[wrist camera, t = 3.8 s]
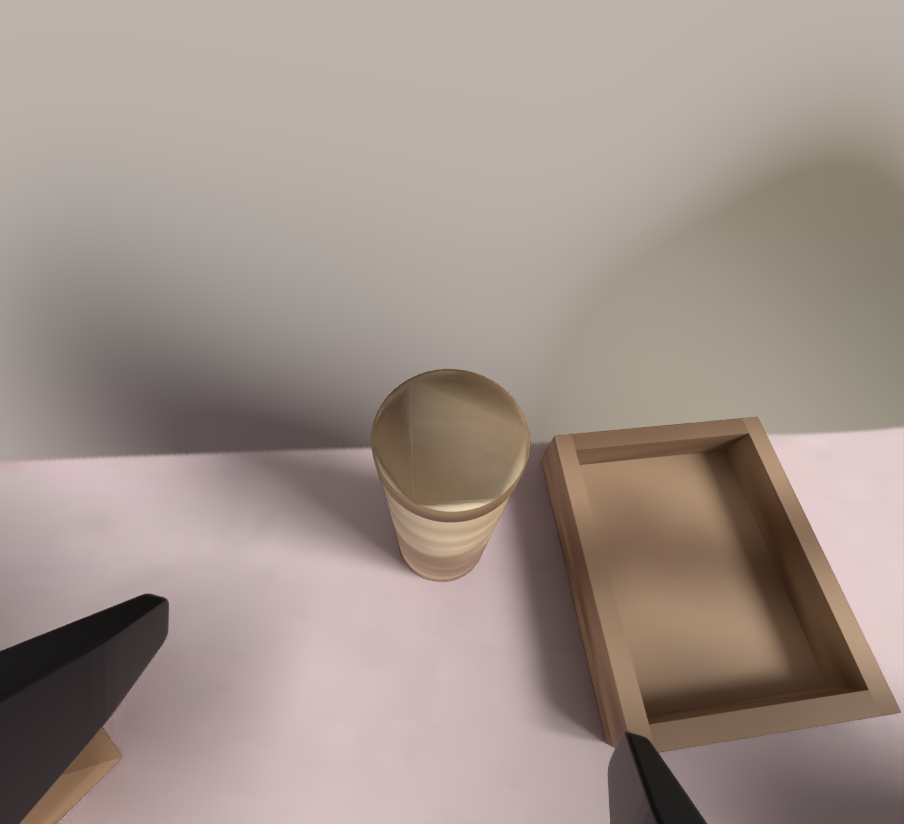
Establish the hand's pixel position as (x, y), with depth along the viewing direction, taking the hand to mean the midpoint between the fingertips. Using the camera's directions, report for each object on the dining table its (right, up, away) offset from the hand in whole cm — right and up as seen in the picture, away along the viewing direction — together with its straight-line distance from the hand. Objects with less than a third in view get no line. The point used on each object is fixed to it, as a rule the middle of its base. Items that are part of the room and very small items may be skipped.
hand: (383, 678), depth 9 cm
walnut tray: (+12, -2, +12) cm, 17 cm away
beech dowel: (+1, -1, +13) cm, 13 cm away
